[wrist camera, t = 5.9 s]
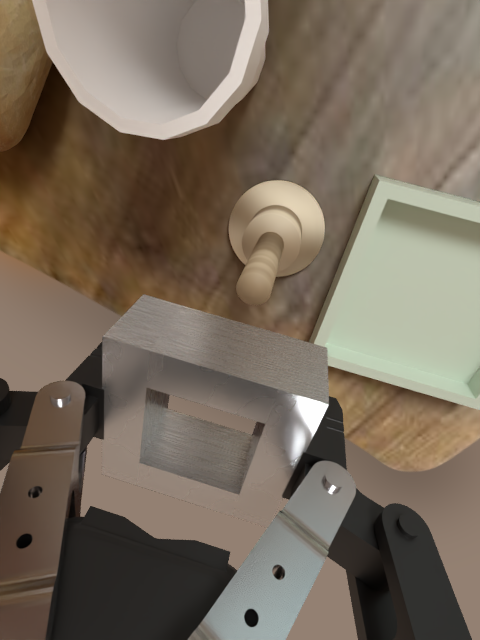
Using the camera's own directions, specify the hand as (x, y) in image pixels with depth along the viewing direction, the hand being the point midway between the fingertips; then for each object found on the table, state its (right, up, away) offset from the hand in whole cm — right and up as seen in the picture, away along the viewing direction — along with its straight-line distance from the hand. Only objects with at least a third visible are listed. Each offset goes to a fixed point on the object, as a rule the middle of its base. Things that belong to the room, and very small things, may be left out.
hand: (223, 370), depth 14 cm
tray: (+17, +4, +17) cm, 24 cm away
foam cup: (-1, +21, +11) cm, 24 cm away
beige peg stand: (+4, +9, +17) cm, 19 cm away
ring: (0, -1, -1) cm, 1 cm away
